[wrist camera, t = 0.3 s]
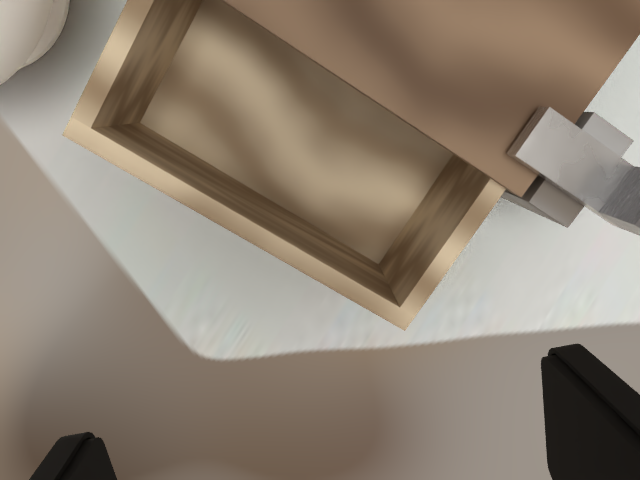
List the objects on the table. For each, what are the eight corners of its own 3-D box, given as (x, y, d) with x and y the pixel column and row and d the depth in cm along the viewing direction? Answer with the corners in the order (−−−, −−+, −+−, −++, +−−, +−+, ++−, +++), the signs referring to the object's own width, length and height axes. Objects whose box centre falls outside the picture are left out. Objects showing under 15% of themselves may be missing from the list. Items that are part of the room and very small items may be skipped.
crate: (252, -127, 34) (229, -238, 23) (564, 97, 39) (668, 94, 28) (122, 127, 38) (50, 136, 27) (419, 301, 43) (460, 369, 32)
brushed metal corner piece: (538, 106, 27) (581, 107, 23) (645, 181, 29) (704, 195, 24) (506, 153, 28) (542, 161, 24) (612, 224, 29) (663, 244, 25)
